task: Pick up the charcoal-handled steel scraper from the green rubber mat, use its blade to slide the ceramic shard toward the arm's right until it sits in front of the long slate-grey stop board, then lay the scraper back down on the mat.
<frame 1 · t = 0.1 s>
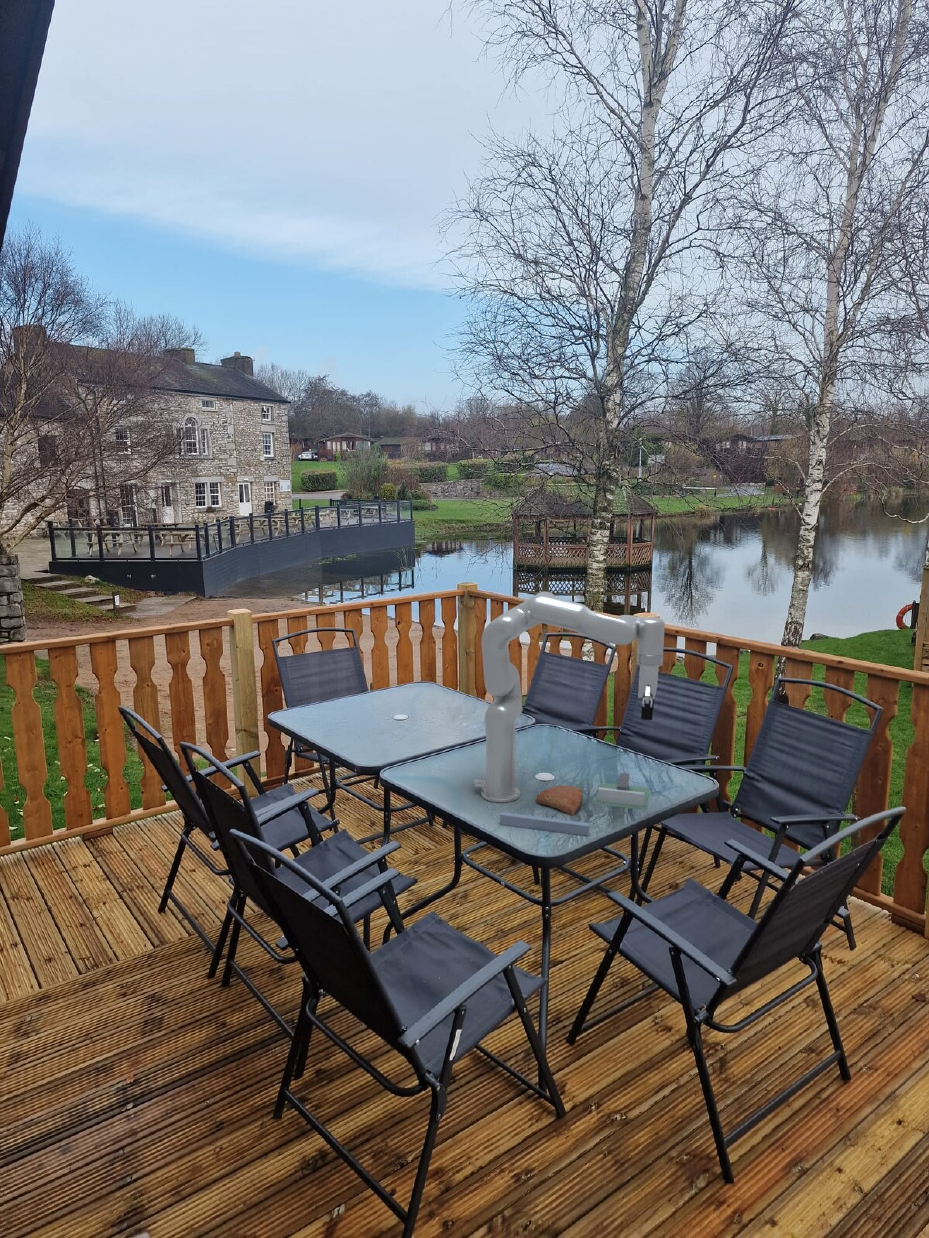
hand: (647, 714, 227), 31 cm above the table, tool pointing down, fingers open, 9 cm apart
stop board: (543, 828, 221), on the table
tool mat: (622, 796, 244), on the table
ceramic shard: (567, 805, 239), on the table
scraper: (622, 794, 245), resting on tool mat
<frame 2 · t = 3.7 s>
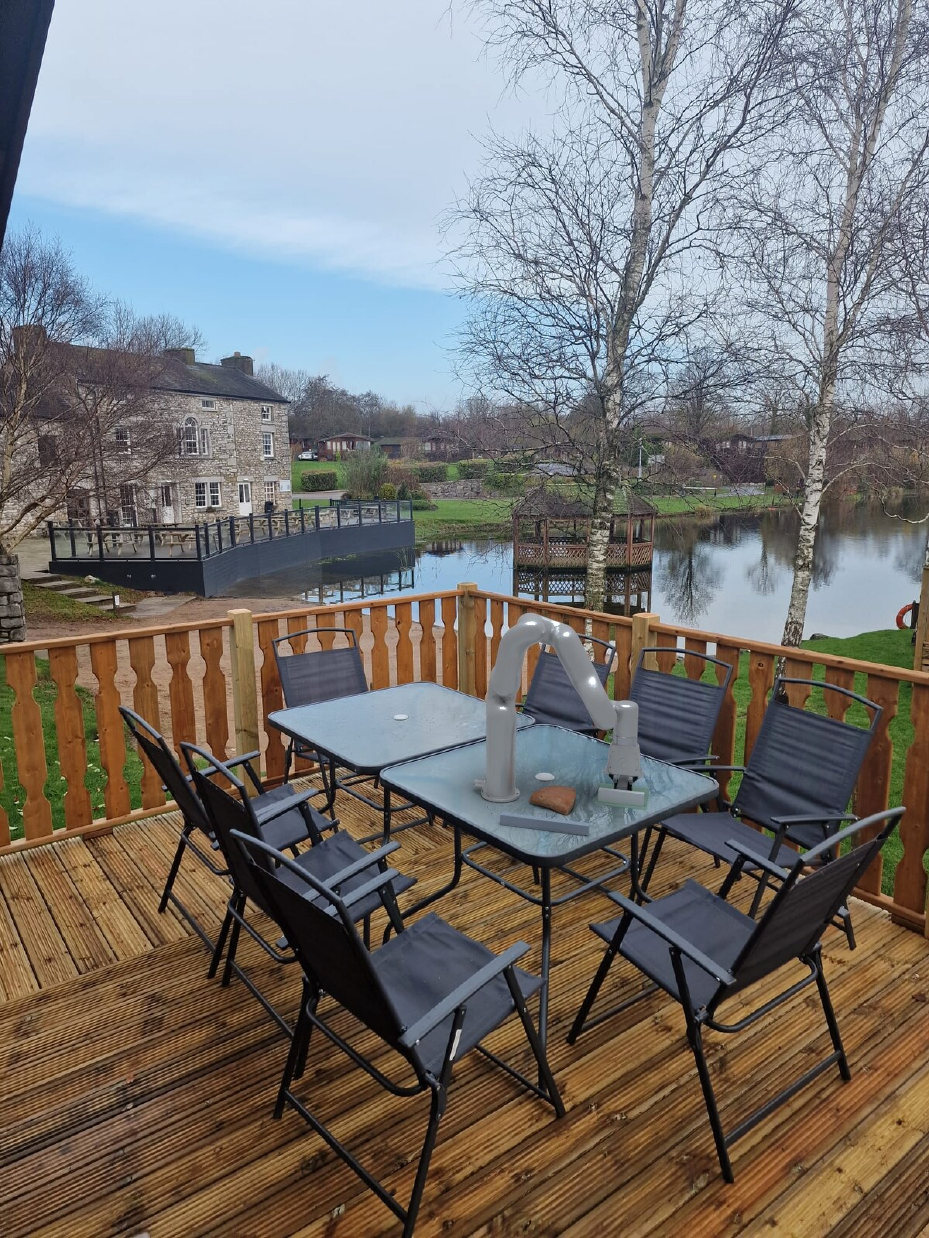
hand: (622, 793, 245), 1 cm above the table, tool pointing down, fingers closed on scraper, 3 cm apart
ceramic shard: (560, 804, 239), on the table
scraper: (622, 794, 245), resting on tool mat, touching gripper
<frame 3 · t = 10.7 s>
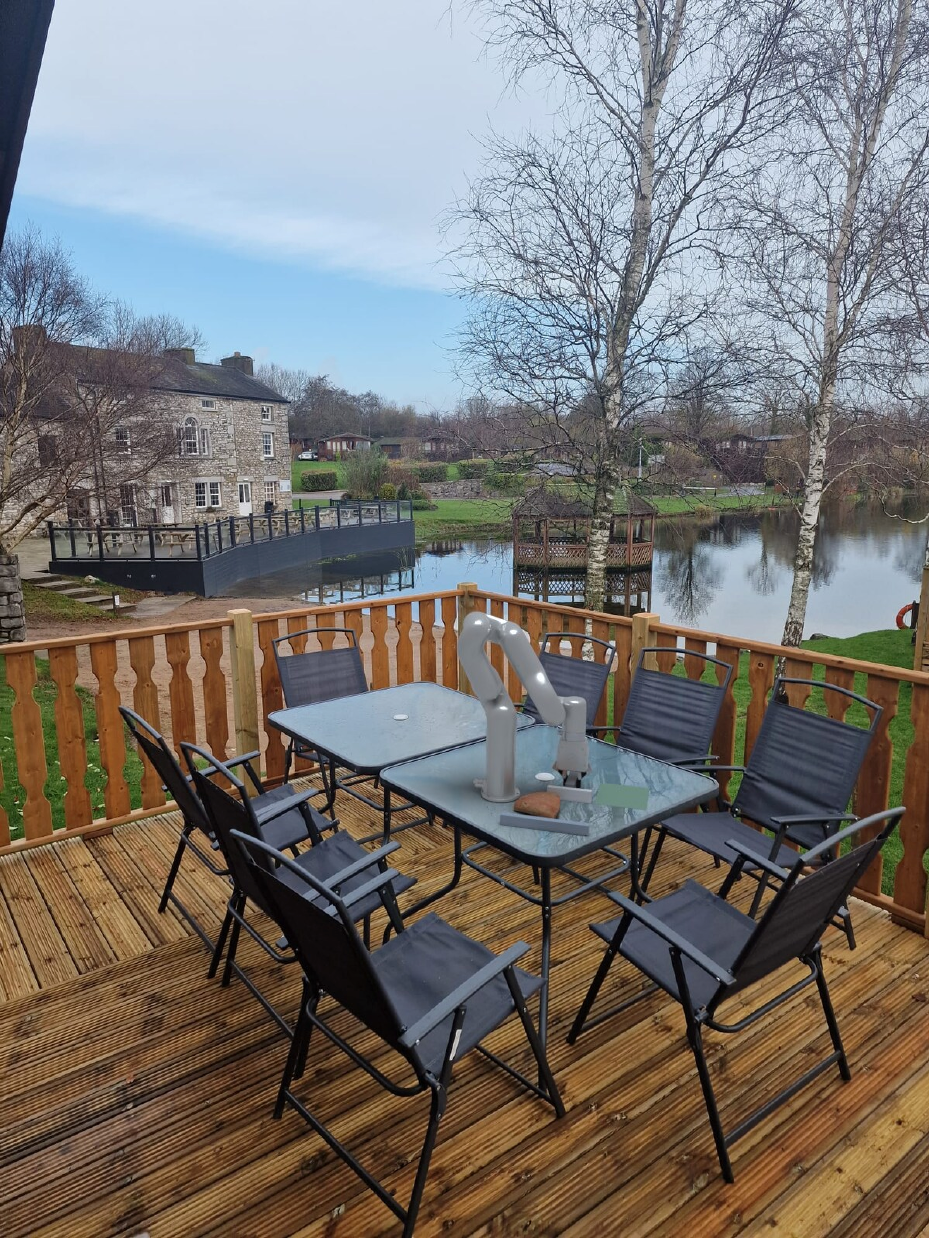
hand: (571, 788, 246), 2 cm above the table, tool pointing down, fingers closed on scraper, 3 cm apart
ceramic shard: (545, 811, 234), on the table, touching scraper
scraper: (572, 791, 247), on the table, touching ceramic shard, gripper
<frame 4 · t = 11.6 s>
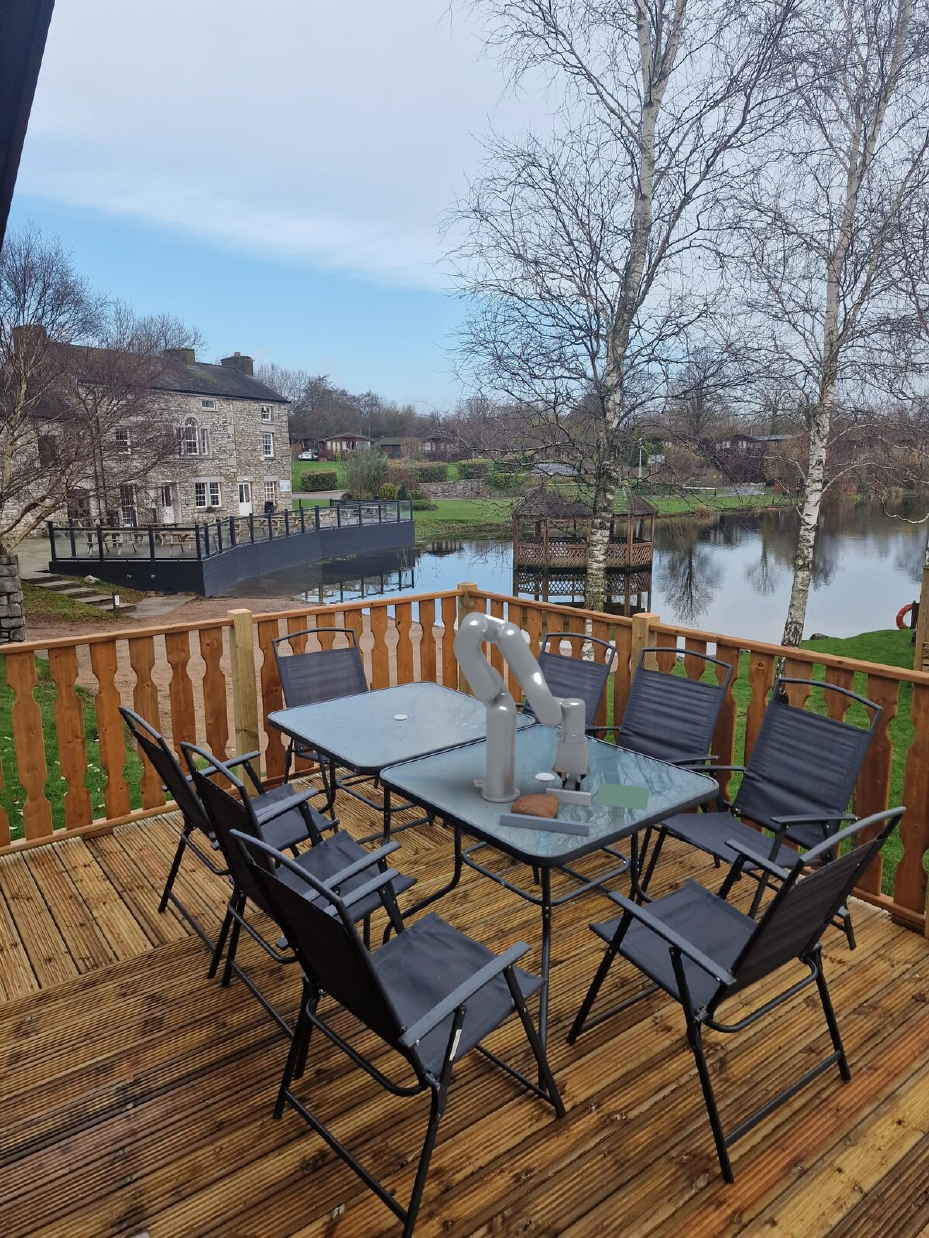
hand: (571, 791, 244), 2 cm above the table, tool pointing down, fingers closed on scraper, 3 cm apart
ceramic shard: (542, 813, 233), on the table
scraper: (571, 793, 245), on the table, touching gripper
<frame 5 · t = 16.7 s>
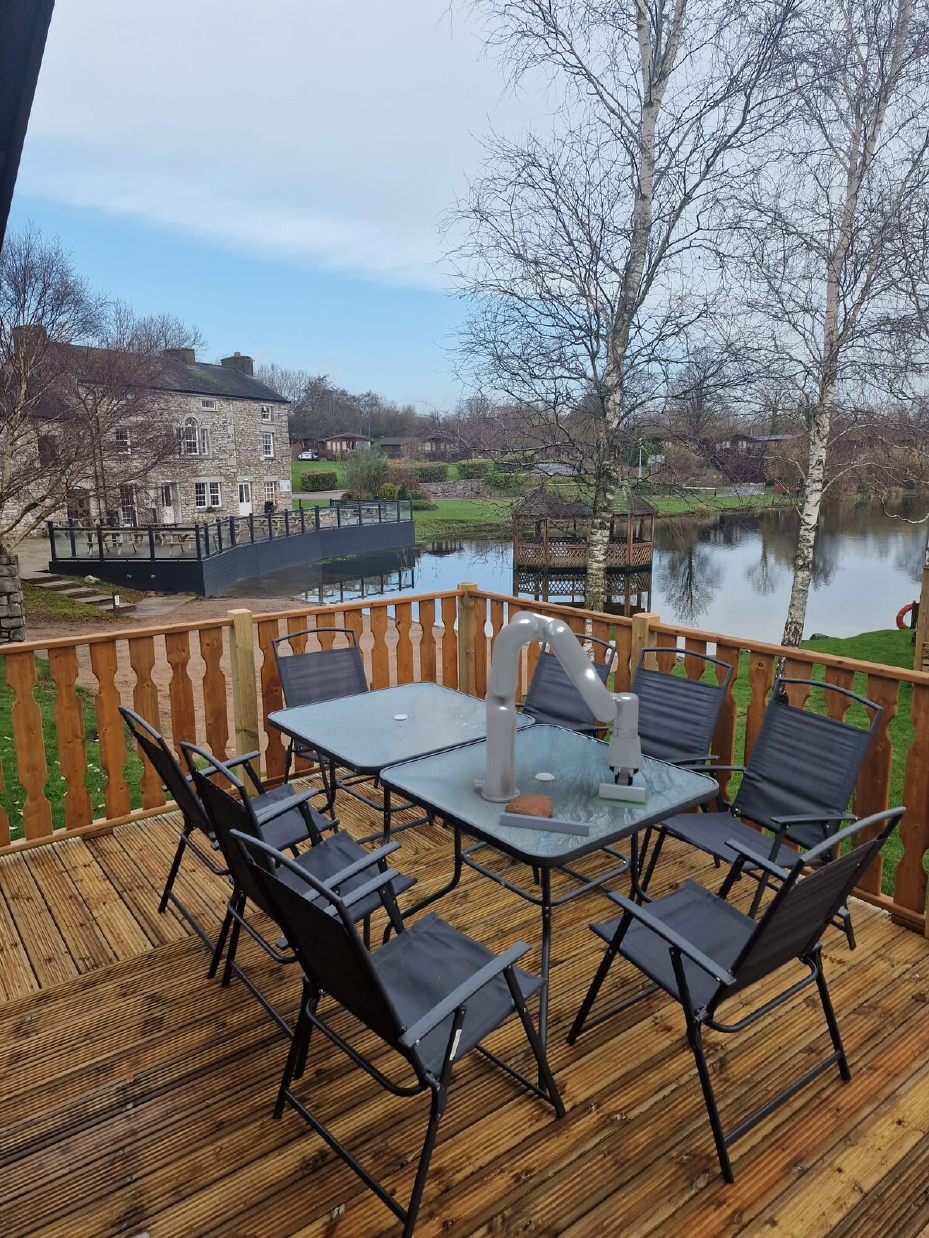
hand: (623, 785, 244), 3 cm above the table, tool pointing down, fingers closed on scraper, 3 cm apart
ceramic shard: (537, 814, 232), on the table
scraper: (623, 788, 246), point 2 cm above the table, touching gripper
when the fingers open (2 cm above the table, at t = 17.2 s): scraper stays where it is, resting on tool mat.
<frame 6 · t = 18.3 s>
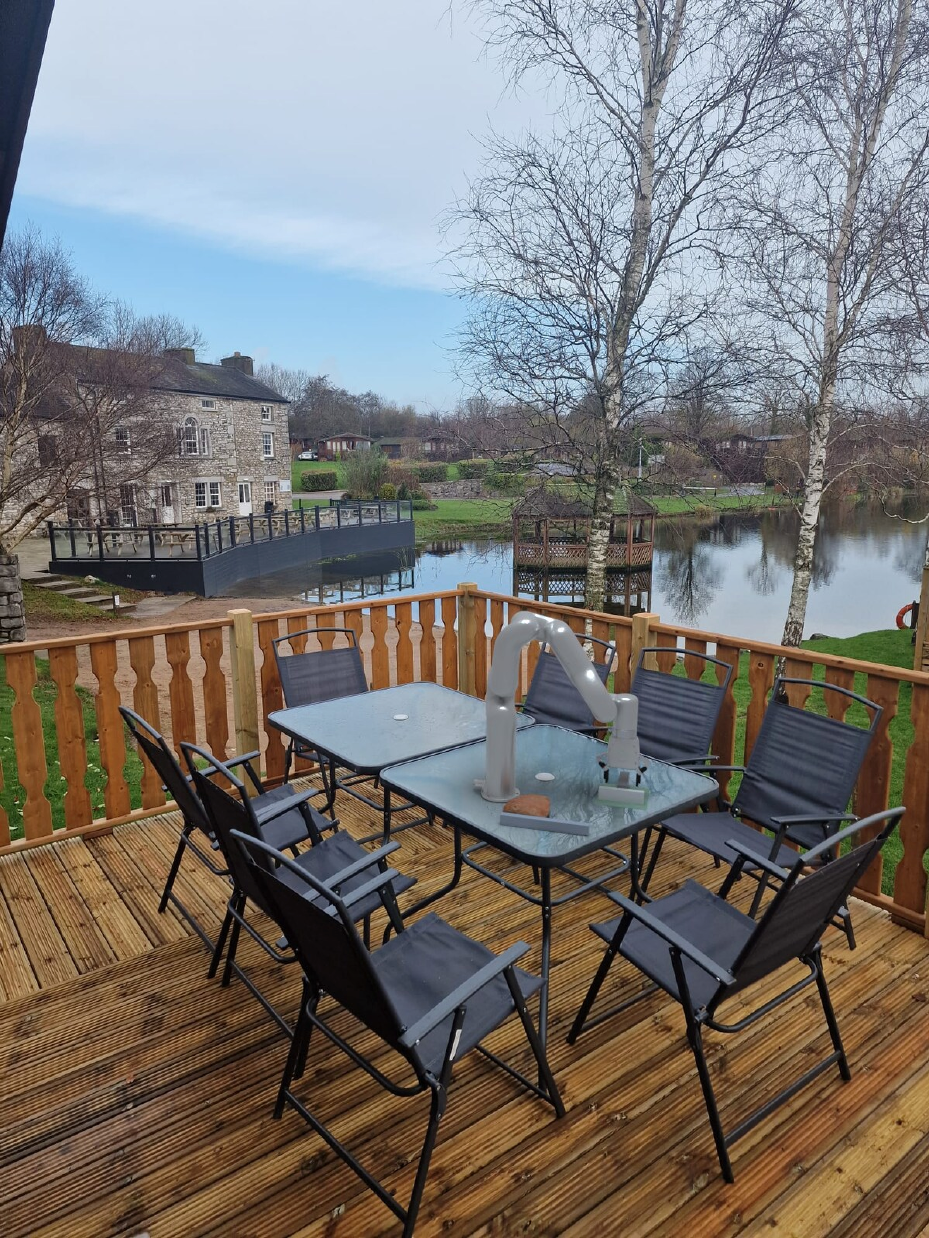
hand: (621, 783, 245), 4 cm above the table, tool pointing down, fingers open, 9 cm apart
scraper: (622, 792, 246), resting on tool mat
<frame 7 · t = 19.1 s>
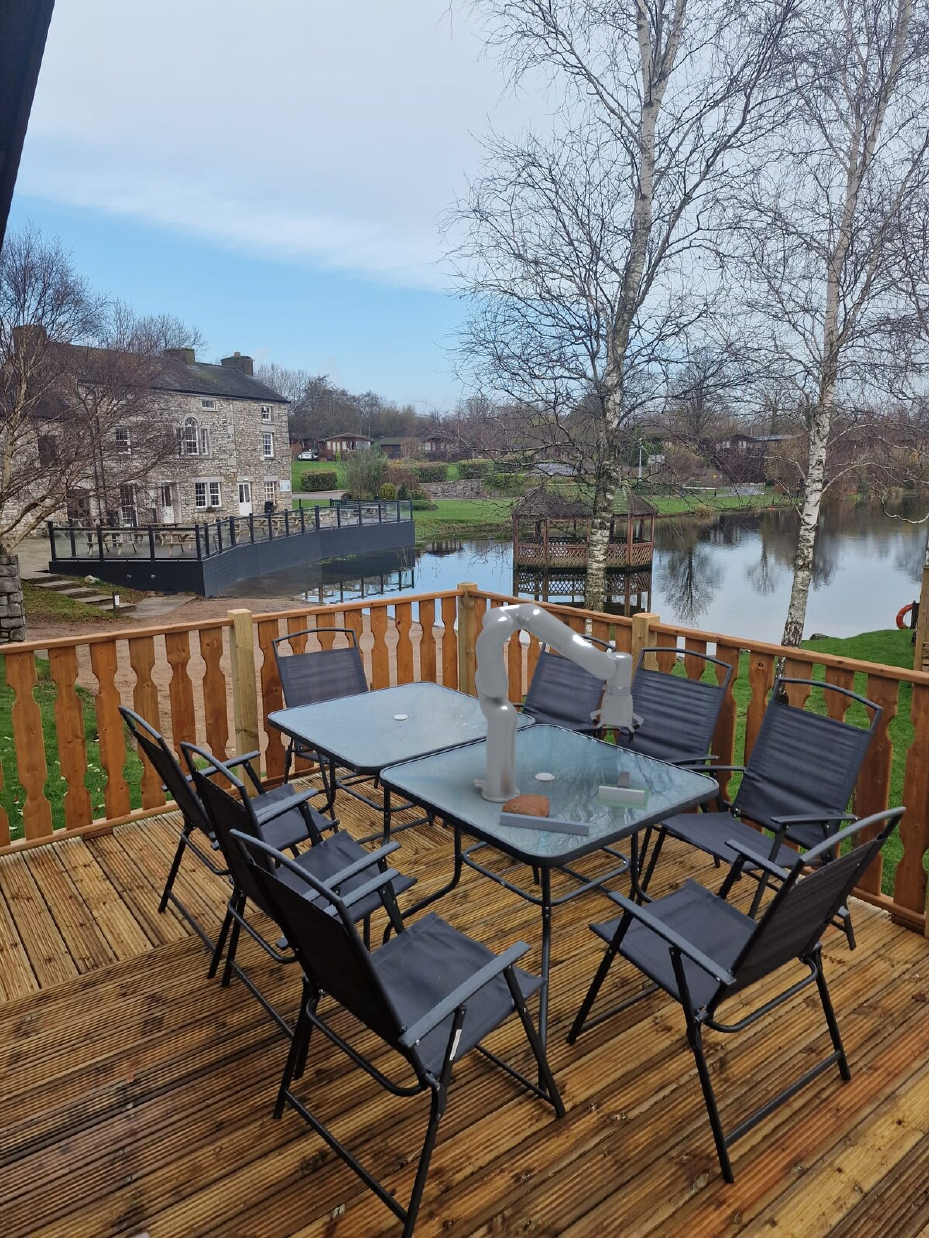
hand: (614, 740, 249), 16 cm above the table, tool pointing down, fingers open, 9 cm apart
nothing on the table moved.
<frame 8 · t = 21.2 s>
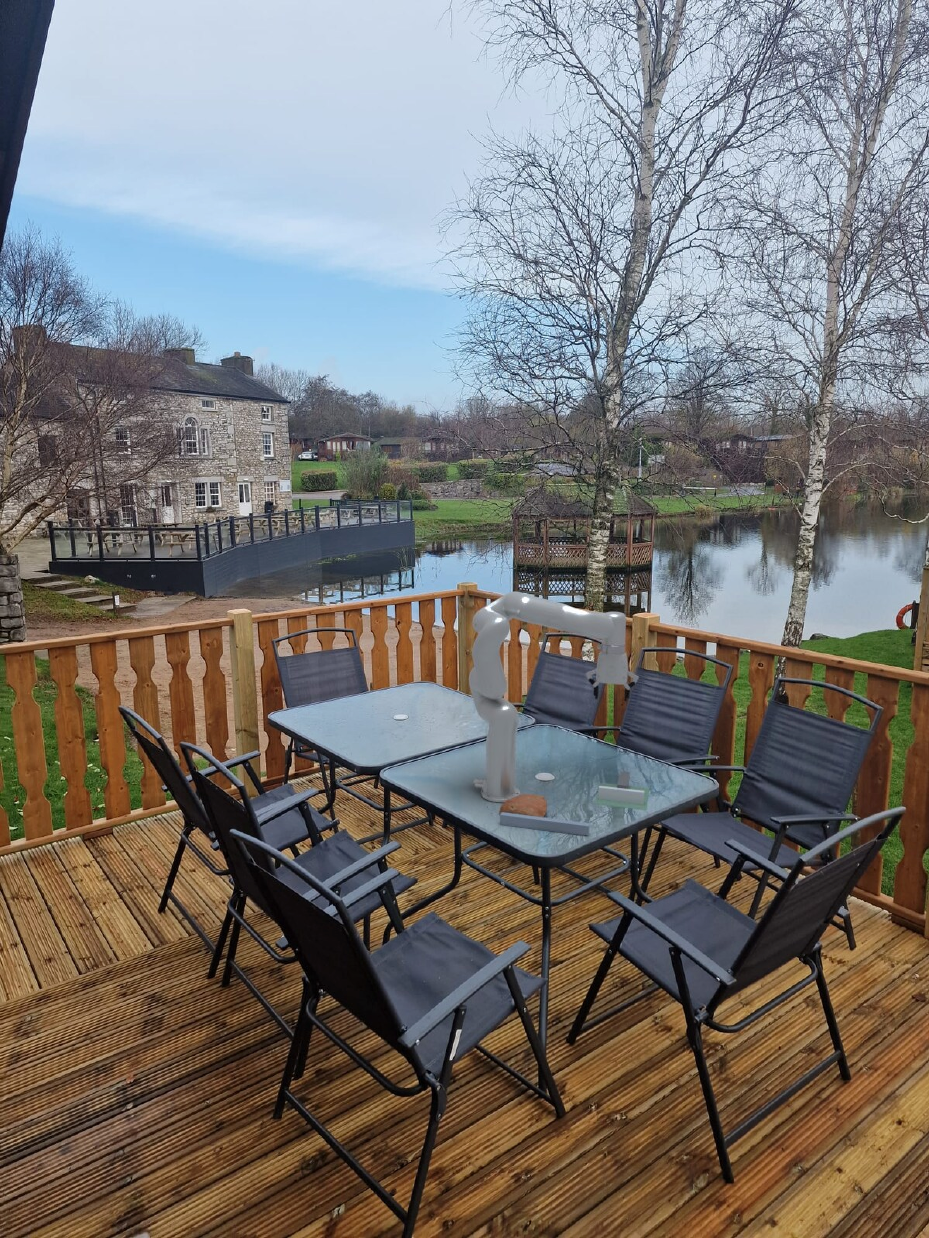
hand: (611, 699, 254), 28 cm above the table, tool pointing down, fingers open, 9 cm apart
at the end: ceramic shard inside the target area (6.3 cm from its centre), on the table; scraper inside the target area (1.4 cm from its centre), resting on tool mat; the gripper is holding nothing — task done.
